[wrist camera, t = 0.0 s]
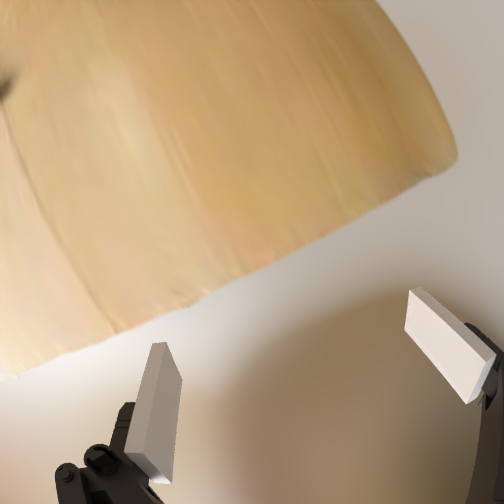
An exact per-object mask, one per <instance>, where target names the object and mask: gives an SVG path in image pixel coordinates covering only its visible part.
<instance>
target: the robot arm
mask: <svg viewBox="0 0 504 504" xmlns="http://www.w3.org/2000/svg"><path fill="white" fill-rule="evenodd" d="M405 331H406V332H407V333H408V334H409V336H410V337H411V338H412V339H413V340H414V341H415V342H416V344H417V345H418V346H419V347H420V348H421V349H422V351H423V352H424V353H425V354H426V355H427V357H428V358H429V359H430V360H431V361H432V362H433V364H434V365H435V366H436V367H437V368H438V370H439V371H440V372H441V373H442V374H443V376H444V377H445V378H446V379H447V381H448V382H449V383H450V384H451V386H452V387H453V388H454V389H455V391H456V392H457V393H458V395H459V396H460V397H461V398H462V400H463V401H464V402H465V403H466V404H467V403H469V402H471V401H472V400H474V399H475V398H477V396H478V394H479V393H480V391H481V389H482V390H483V391H484V392H485V393H484V395H483V396H482V398H481V400H480V402H479V404H478V407H477V408H479V407H480V405H481V404H482V414H481V425H480V434H479V442H478V449H477V455H476V461H475V466H474V471H473V476H472V480H471V485H470V489H469V493H468V497H467V500H466V504H504V352H502V350H500V348H498V347H497V346H496V345H495V344H494V343H493V342H492V341H491V340H490V339H489V338H486V336H485V335H484V334H483V333H481V331H480V330H479V329H478V328H477V327H475V326H474V325H471V324H469V323H464V324H463V323H462V322H461V321H460V320H458V319H457V318H456V317H455V316H454V315H453V314H452V313H451V312H449V311H448V310H447V309H446V308H445V307H444V306H442V305H441V304H440V303H439V302H438V301H437V300H435V299H434V298H433V297H432V296H431V295H429V294H428V293H427V292H426V291H425V290H423V289H422V288H421V287H418V288H415V289H411V290H409V300H408V308H407V316H406V323H405ZM181 386H182V378H181V376H180V373H179V371H178V369H177V367H176V364H175V362H174V360H173V357H172V355H171V352H170V350H169V348H168V345H167V343H166V342H162V343H154V344H152V347H151V350H150V354H149V357H148V360H147V364H146V367H145V371H144V374H143V378H142V381H141V385H140V389H139V392H138V396H137V400H136V402H126V403H125V404H124V405H123V407H122V408H121V409H120V410H119V413H118V417H117V421H116V424H115V429H114V431H113V434H112V438H111V442H110V445H109V446H107V445H104V444H96V445H93V446H91V447H90V448H89V449H87V451H86V453H85V454H84V463H85V465H86V466H87V467H86V468H80V469H79V468H78V467H76V466H75V465H74V464H72V463H64V464H62V465H60V466H59V467H58V468H57V470H56V472H55V483H56V489H57V495H58V501H59V504H164V503H163V501H162V500H161V499H160V498H159V497H158V496H157V494H156V493H155V492H154V491H153V490H152V488H151V487H150V486H149V485H148V483H149V478H150V479H151V480H152V481H153V482H154V483H167V484H170V483H171V484H172V473H173V460H174V450H175V439H176V429H177V420H178V410H179V402H180V394H181Z"/></svg>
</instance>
